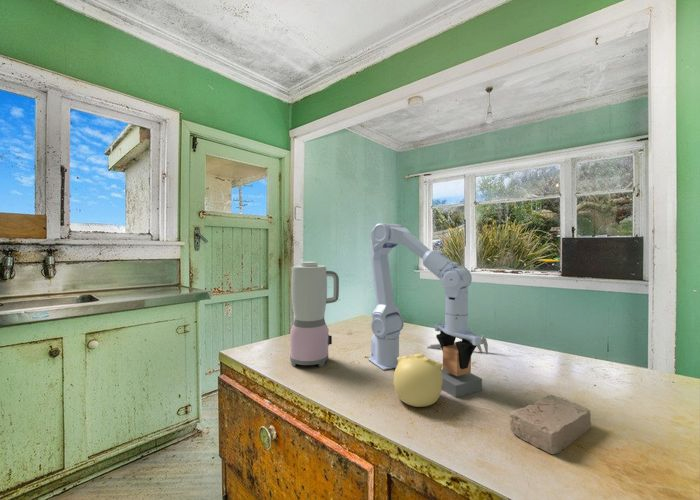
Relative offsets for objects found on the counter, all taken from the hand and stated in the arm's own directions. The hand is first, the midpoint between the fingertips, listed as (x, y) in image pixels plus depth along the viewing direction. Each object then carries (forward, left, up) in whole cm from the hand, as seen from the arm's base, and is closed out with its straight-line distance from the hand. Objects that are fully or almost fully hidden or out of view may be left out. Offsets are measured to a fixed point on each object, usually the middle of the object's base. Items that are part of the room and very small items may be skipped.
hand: (456, 364), depth 82 cm
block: (0, 0, -2) cm, 2 cm away
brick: (+23, +3, -6) cm, 24 cm away
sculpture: (+1, -13, -6) cm, 15 cm away
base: (0, 0, -6) cm, 6 cm away
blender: (-33, -28, -6) cm, 44 cm away
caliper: (-21, +21, -6) cm, 30 cm away
